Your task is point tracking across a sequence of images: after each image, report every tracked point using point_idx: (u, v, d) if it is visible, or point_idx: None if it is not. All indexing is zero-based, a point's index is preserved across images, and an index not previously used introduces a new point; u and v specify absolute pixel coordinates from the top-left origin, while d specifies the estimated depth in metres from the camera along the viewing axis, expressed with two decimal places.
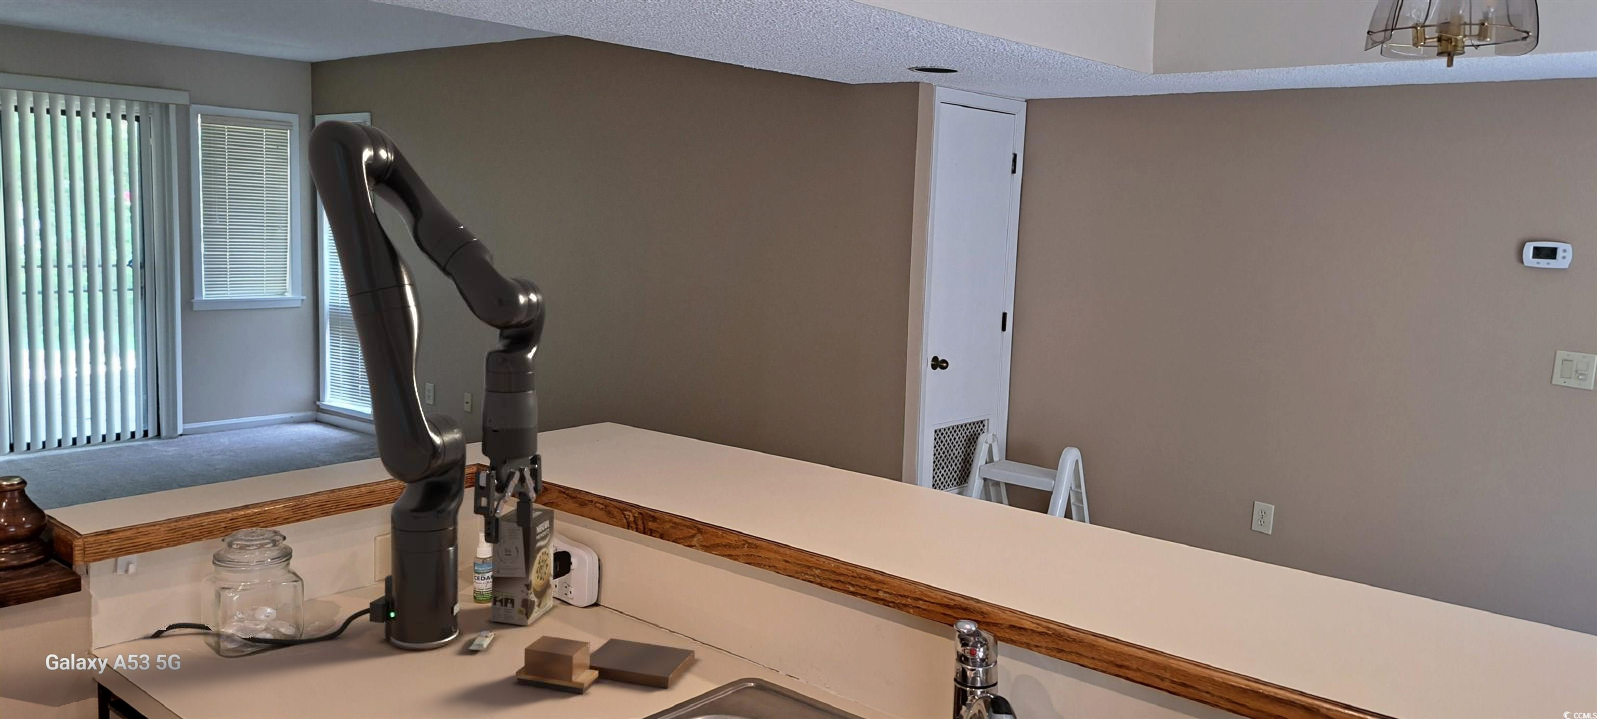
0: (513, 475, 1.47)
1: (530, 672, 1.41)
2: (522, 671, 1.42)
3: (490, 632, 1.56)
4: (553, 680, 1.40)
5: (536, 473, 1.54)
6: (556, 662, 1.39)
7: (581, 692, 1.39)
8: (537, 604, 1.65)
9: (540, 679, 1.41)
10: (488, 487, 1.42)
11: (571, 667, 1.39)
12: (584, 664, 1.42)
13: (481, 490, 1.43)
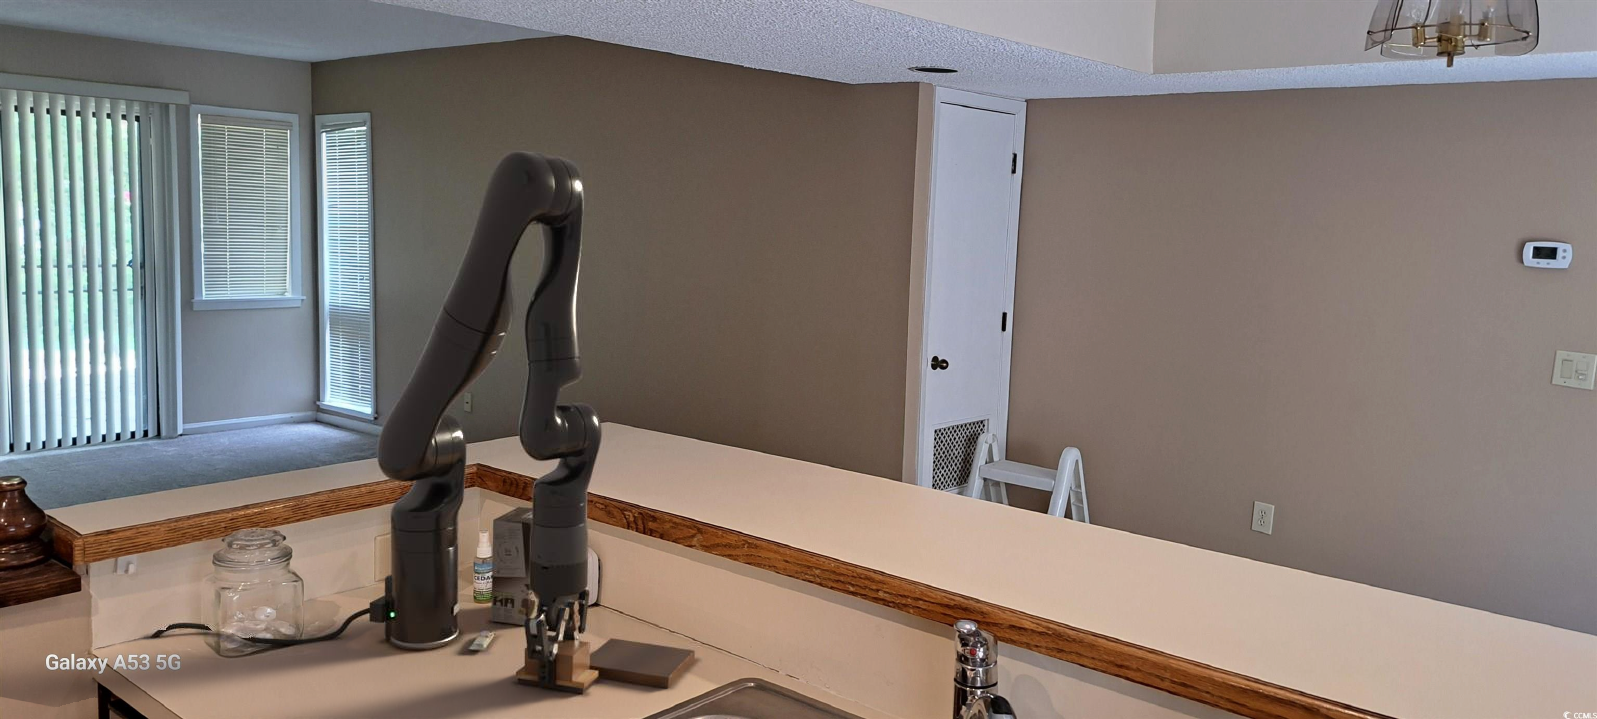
0: (563, 614, 1.39)
1: (530, 672, 1.41)
2: (522, 671, 1.42)
3: (490, 632, 1.56)
4: None
5: (582, 609, 1.46)
6: (556, 662, 1.39)
7: (581, 692, 1.39)
8: (537, 604, 1.65)
9: None
10: (540, 636, 1.35)
11: (571, 667, 1.39)
12: (584, 663, 1.42)
13: (533, 638, 1.36)
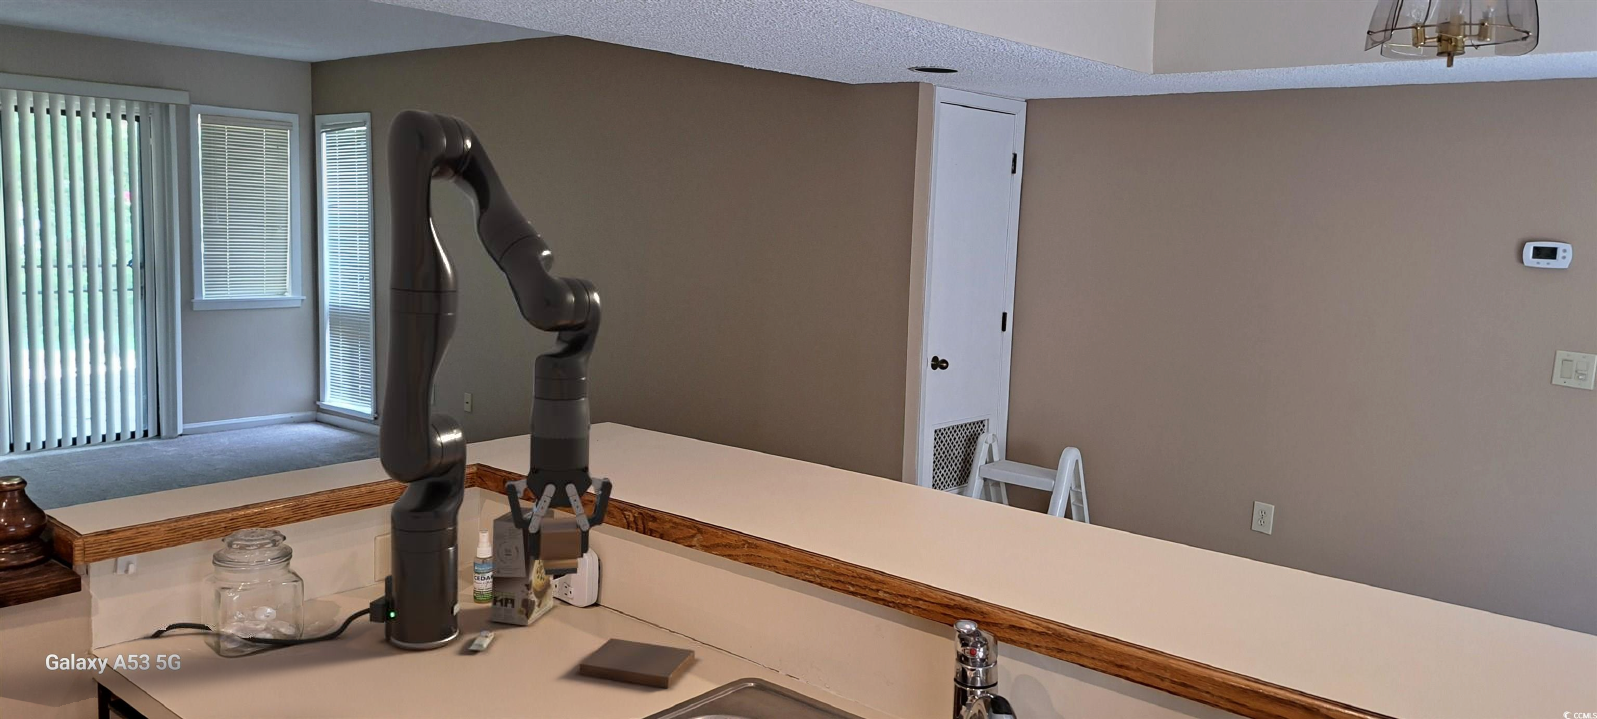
0: (544, 489, 1.37)
1: None
2: None
3: (490, 632, 1.56)
4: None
5: (599, 500, 1.40)
6: None
7: (545, 573, 1.36)
8: (537, 604, 1.65)
9: None
10: None
11: (540, 544, 1.36)
12: (568, 550, 1.37)
13: None
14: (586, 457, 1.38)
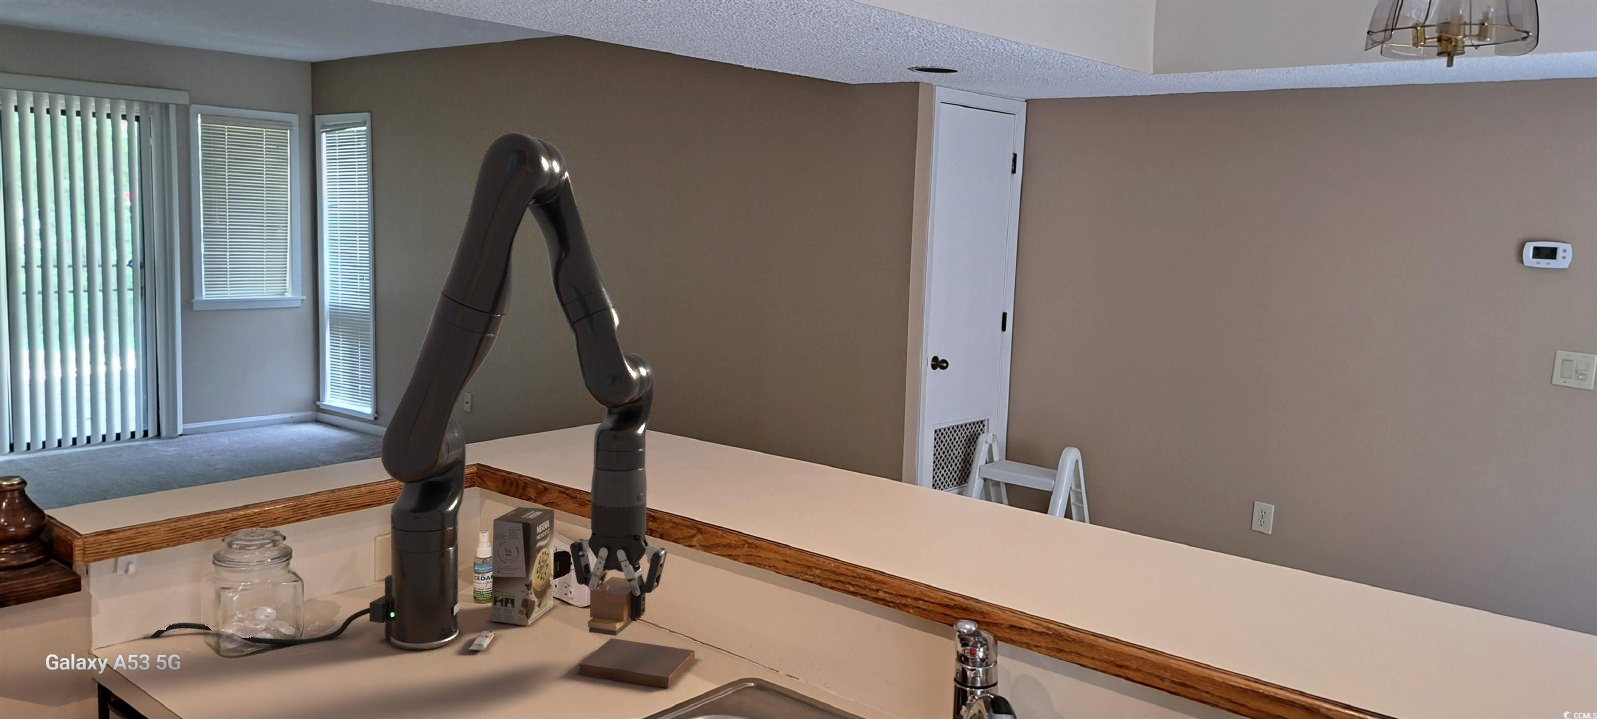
0: (599, 551, 1.46)
1: None
2: None
3: (490, 632, 1.56)
4: None
5: (649, 569, 1.46)
6: None
7: None
8: (538, 604, 1.65)
9: None
10: None
11: (590, 602, 1.46)
12: (613, 612, 1.45)
13: None
14: (635, 526, 1.45)
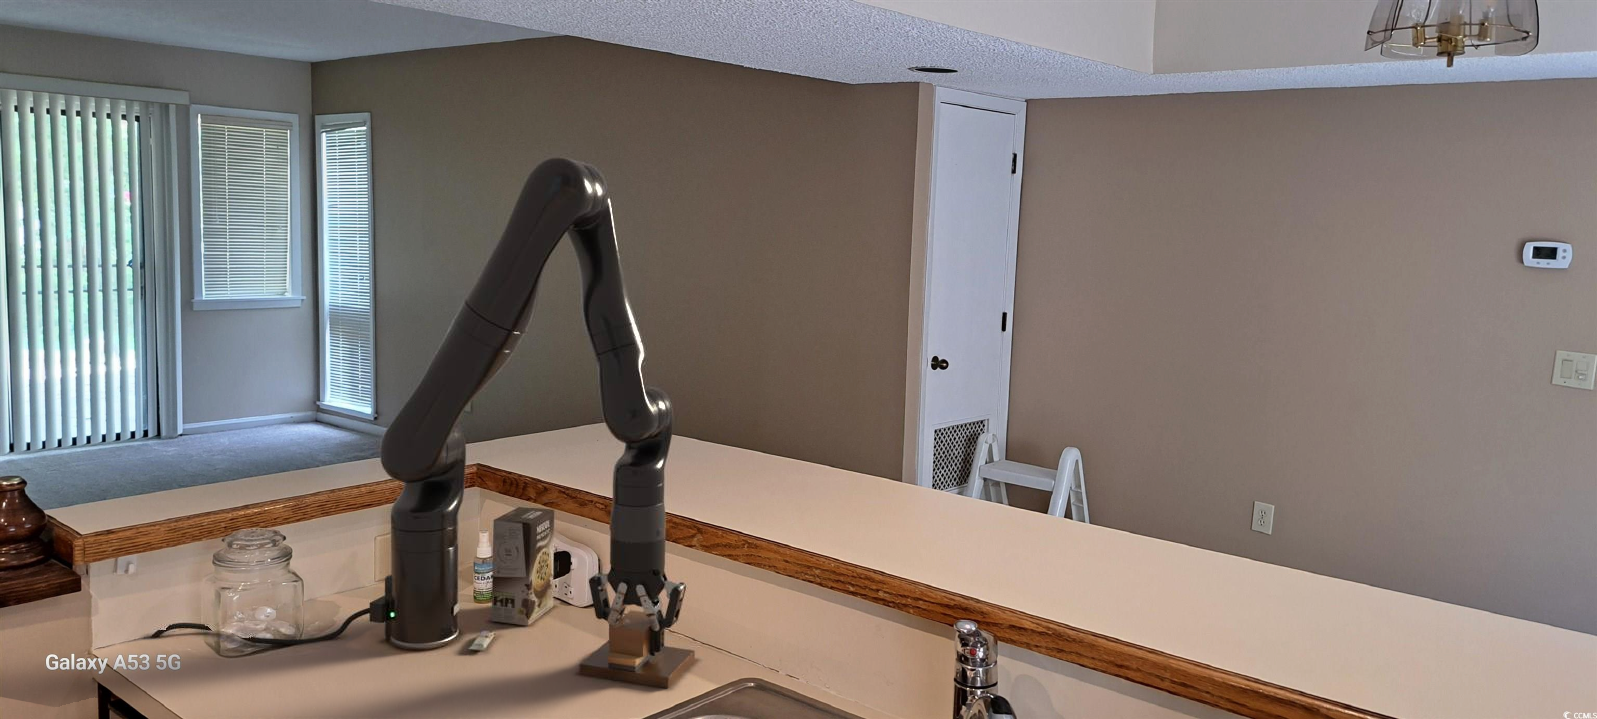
0: (618, 586, 1.46)
1: None
2: None
3: (490, 632, 1.56)
4: None
5: (668, 604, 1.45)
6: None
7: None
8: (538, 604, 1.65)
9: None
10: None
11: None
12: (633, 647, 1.45)
13: None
14: (655, 561, 1.44)
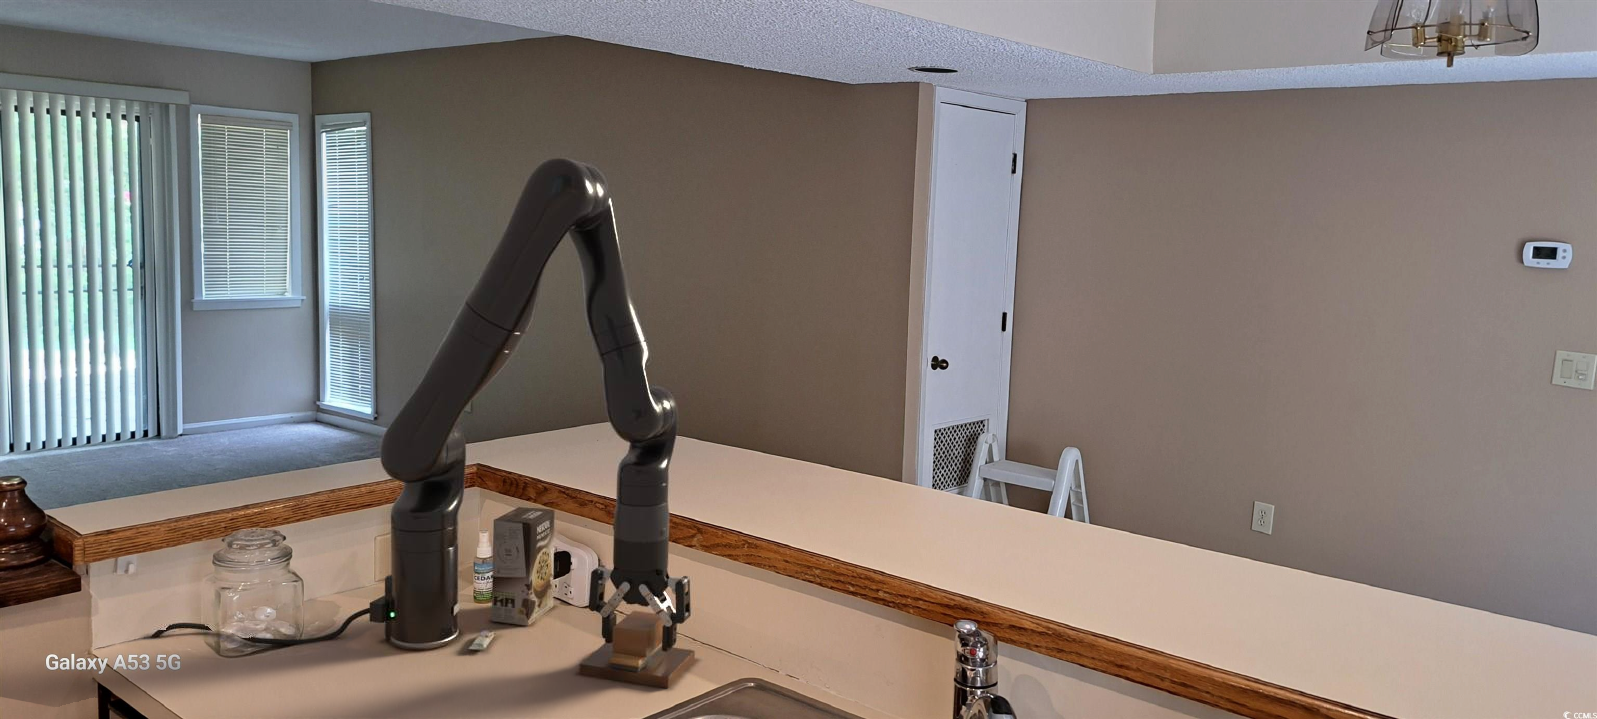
0: (621, 584, 1.46)
1: None
2: None
3: (490, 632, 1.56)
4: None
5: None
6: None
7: (612, 666, 1.45)
8: (538, 604, 1.65)
9: None
10: None
11: None
12: (636, 648, 1.45)
13: None
14: (658, 561, 1.44)
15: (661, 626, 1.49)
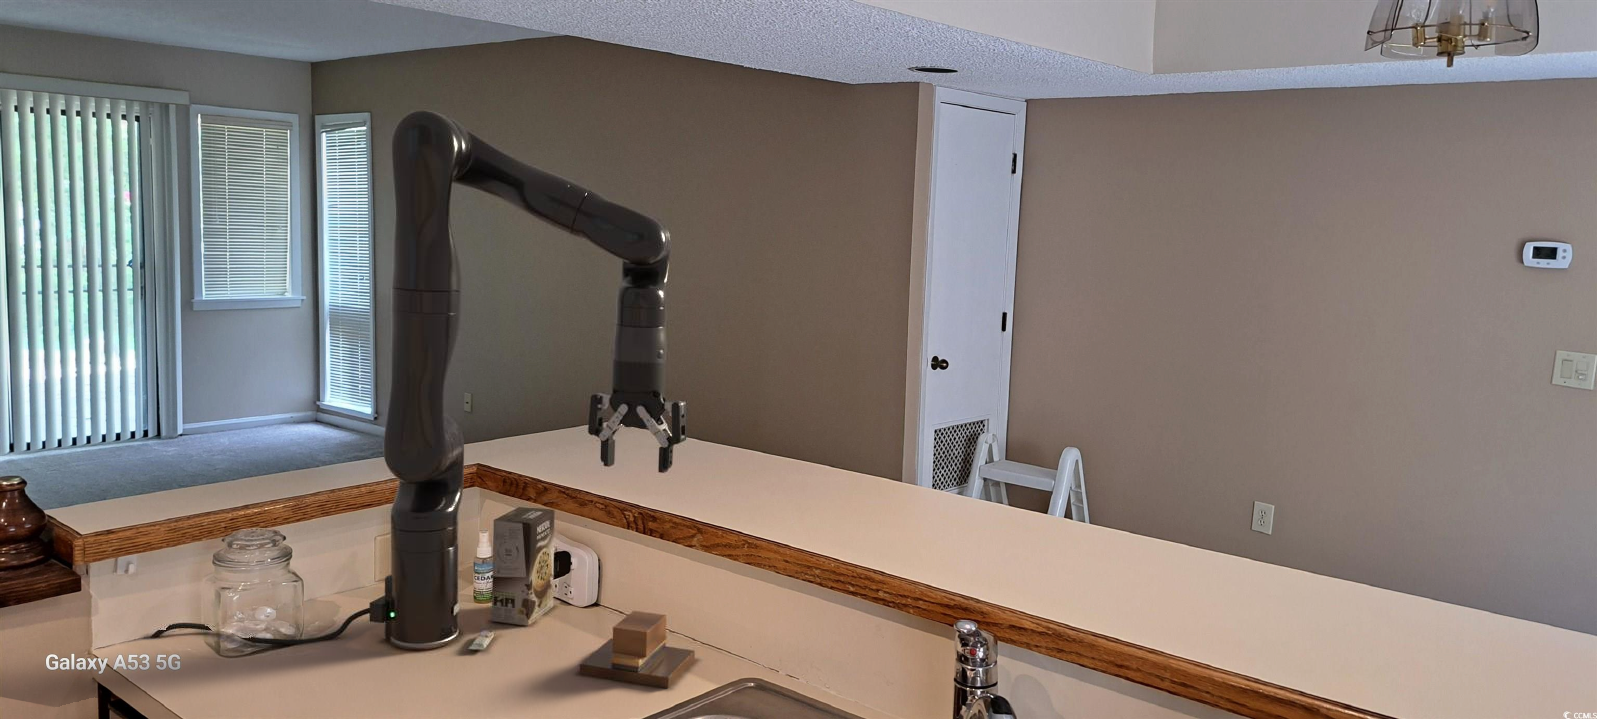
0: (620, 406, 1.51)
1: None
2: None
3: (490, 632, 1.56)
4: None
5: (672, 421, 1.50)
6: None
7: (612, 666, 1.45)
8: (538, 604, 1.65)
9: None
10: None
11: None
12: (636, 648, 1.45)
13: None
14: (655, 383, 1.49)
15: (661, 626, 1.49)
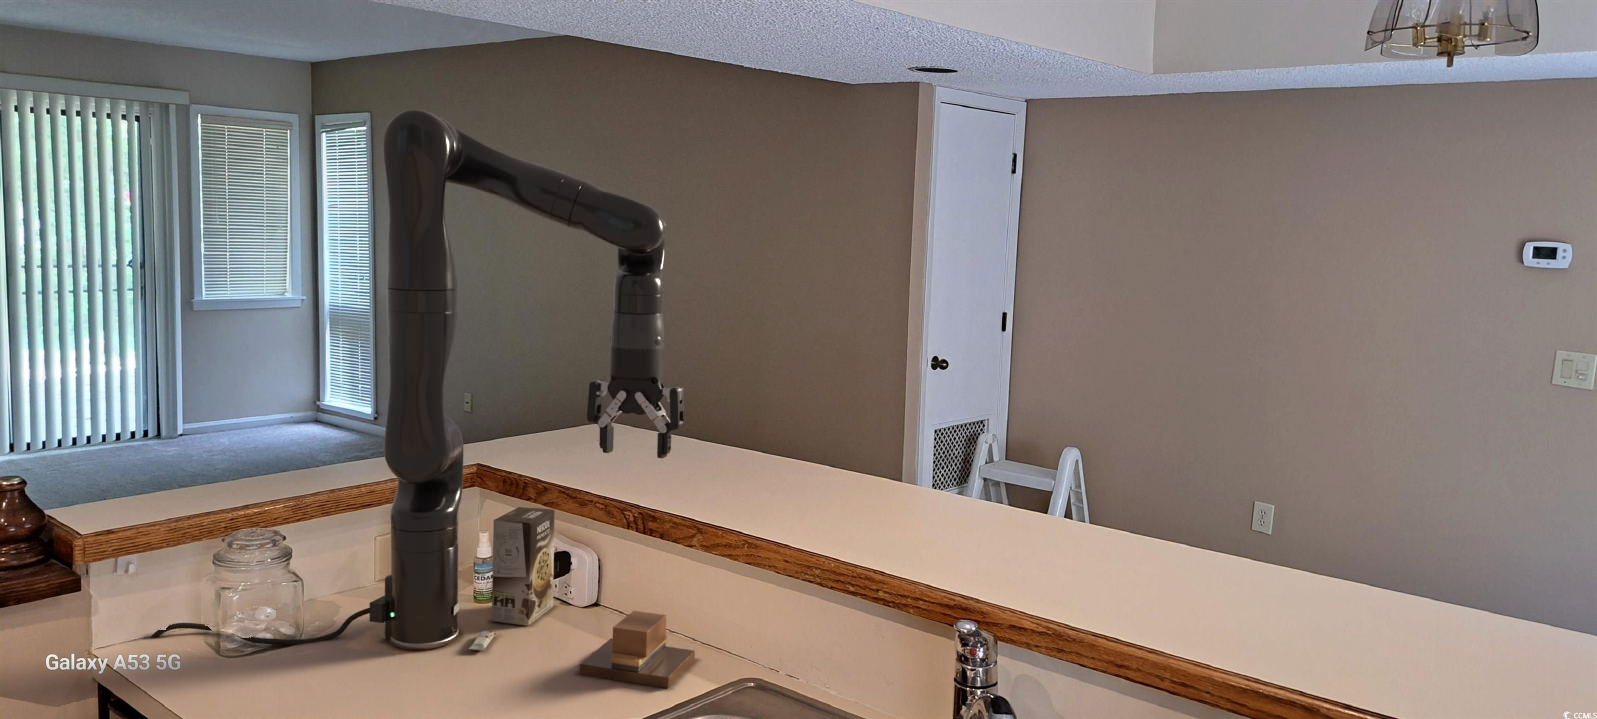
0: (618, 393, 1.53)
1: None
2: None
3: (490, 632, 1.56)
4: None
5: (670, 406, 1.51)
6: None
7: (612, 666, 1.45)
8: (538, 604, 1.65)
9: None
10: None
11: None
12: (636, 648, 1.45)
13: None
14: (653, 369, 1.51)
15: (661, 626, 1.49)
